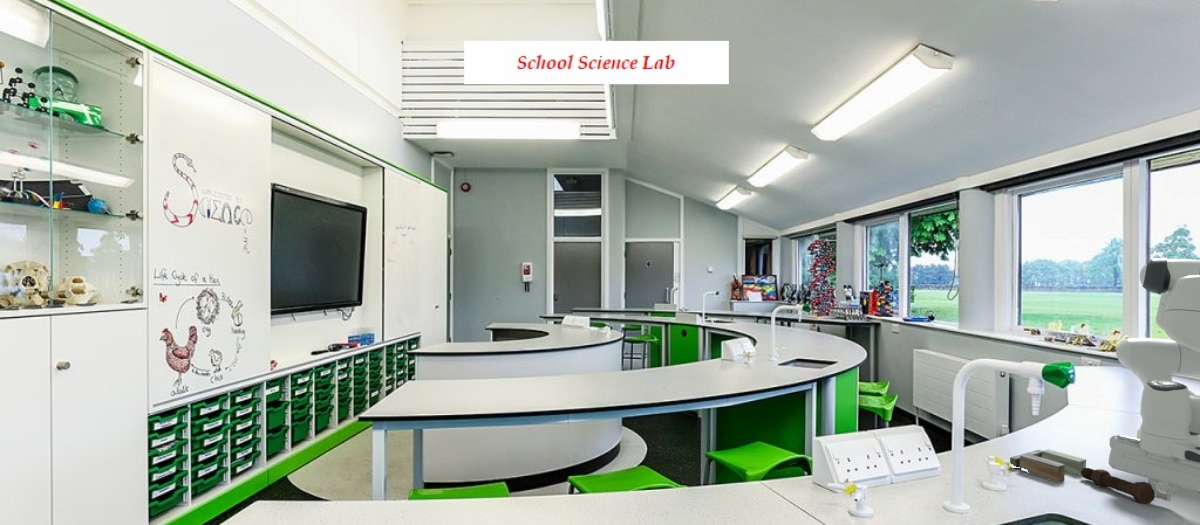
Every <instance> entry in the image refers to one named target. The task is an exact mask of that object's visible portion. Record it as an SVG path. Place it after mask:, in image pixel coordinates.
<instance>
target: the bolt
mask: <svg viewBox="0 0 1200 525" xmlns="http://www.w3.org/2000/svg"><path fill="white" fill-rule="evenodd" d="M1080 476H1081V477H1082V478H1083V479H1086V480H1088V481H1091V482H1092V483H1093V484H1094V485H1095V486H1096V487H1098V486H1099V488H1110V489H1113V490H1115V491H1119V492H1121V493H1125V494H1127V495H1130V496H1131V497H1133V500H1134V501H1135V503H1138V504H1142V505H1149V504H1151V503H1152V502H1153V501H1154V500H1155V498H1156V497H1154V490H1153V489H1152V486H1151V485H1150V484H1149V483H1148V482H1147V481H1135V482H1131V481H1128V480H1125V479H1122V478H1119V477H1116V476H1113V475H1111V474H1110V472H1109V471H1108V470H1105V469H1099V468H1097V469H1094V468H1090V467H1086V468H1082V470H1081V475H1080Z"/></svg>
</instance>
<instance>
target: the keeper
mask: <svg viewBox="0 0 1200 525" xmlns="http://www.w3.org/2000/svg"><path fill="white" fill-rule="evenodd" d="M1010 463H1011V464H1013V465H1014V466H1016V467H1020V468H1024V469H1027V470H1028V472H1029V473H1028V474H1029V475H1033V476H1035V475H1036V476H1035V477H1039V478H1041V477H1042V479H1046V480H1048V479H1049V480H1048V481H1052V482H1054V481H1055V482H1054V483H1057V482H1058V483H1060V481H1061V482H1063V480H1064V481H1065V474H1066V472H1067V471H1068V473H1070V472H1071V474H1075V475H1077V474H1078V476H1082V475H1081V470H1082V468H1087V459H1086V458H1081V457H1078V456H1075V455H1071V454H1067V453H1063V452H1061V451H1056V450H1053V449H1044V450H1042V449H1036V450H1033V451H1028V452H1025V453H1022V454H1018V455H1015V456H1010V458H1009V464H1010ZM1020 468H1019V469H1020Z"/></svg>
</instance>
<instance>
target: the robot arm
mask: <svg viewBox="0 0 1200 525" xmlns="http://www.w3.org/2000/svg"><path fill="white" fill-rule="evenodd" d="M1139 272H1140V273H1139V280H1140V284H1141V285H1142V288H1143V289H1144V290H1146V291H1148V292H1150V293H1153V294H1158V296H1159V295H1160V298H1159V299H1160V300H1159V301H1158V302H1159V303H1158V307H1157V312H1156V316H1155V321H1156V324H1157V326H1158V327H1159V328H1161V329H1162V330H1163V331H1164V332H1165V333H1166V335H1167V336H1168V337H1169V338H1170V339H1167V338H1156V337H1155V338H1154V337H1153V338H1152V337H1134V338H1133V337H1132V338H1125V339H1123V340H1122V341H1120V342H1119V344H1118V345H1117V346H1116V348H1115V349H1116V350H1115V356H1116V359H1117V360H1118V362H1119V363H1120V364H1121V365H1122V366H1123V367H1124V368H1126V369H1128V370H1129V371H1131V372H1132V373H1133V374H1134V375H1135V376H1136V377H1137V378H1138V379H1139V381H1140V382H1141V384H1142V386H1143V389H1142V394H1141V400H1140V410H1139V412H1140V417H1141V419H1142V421H1141V424H1140V427H1139V429H1137V431H1136V438H1135V437H1129V436H1126V435H1121V434H1117V435H1112V436H1111V437H1109V447H1110V452H1109V457H1108V464H1109V466H1110V467H1111V468H1112V470H1116V471H1121V472H1123V473H1128V474H1132V475H1135V476H1139V477H1143V478H1146V479H1148V482H1147V483H1149V484H1150V485H1151V486H1152V489H1153V490H1154V497H1155V498H1156V499H1160V500H1162V501H1163V500H1164V501H1166V502H1169V503H1170V502H1172V499H1173V494H1174V493H1175V492H1177V491H1178V490H1179V488H1183V489H1185V490H1189V491H1193V492H1197V493H1200V395H1198V394H1195V393H1194V392H1193V391H1191V390H1189V387H1188V386H1187V385H1185V384H1183V383H1180V382H1177V381H1173V376H1185V377H1194V378H1195V377H1196V378H1200V259H1194V258H1193V259H1190V258H1189V259H1188V258H1186V259H1185V258H1167V257H1160V258H1159V257H1158V258H1151V259H1150V260H1148V261H1146V263H1145V264H1144V265H1143V266H1142V268H1141V270H1140V271H1139ZM1159 482H1161V483H1163V484H1167V488H1168V489H1169V490H1168V491H1163V490H1161V488H1160V487H1159V485H1158V484H1160V483H1159Z"/></svg>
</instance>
